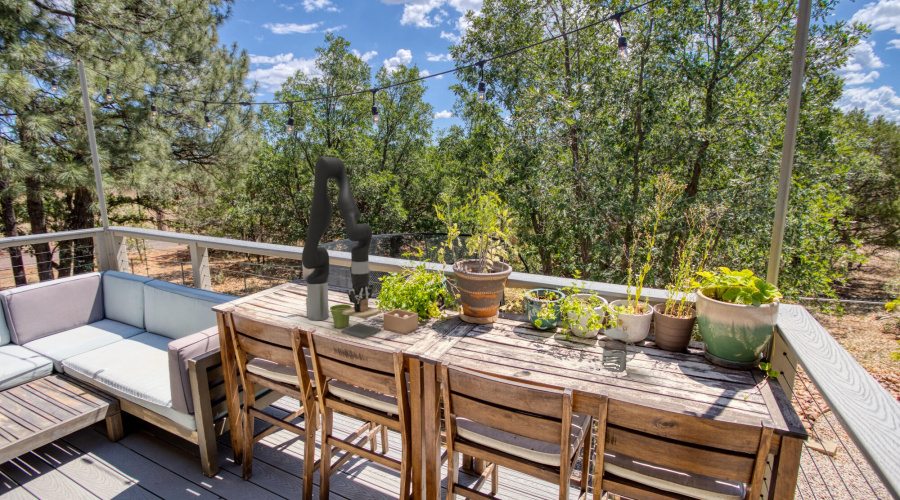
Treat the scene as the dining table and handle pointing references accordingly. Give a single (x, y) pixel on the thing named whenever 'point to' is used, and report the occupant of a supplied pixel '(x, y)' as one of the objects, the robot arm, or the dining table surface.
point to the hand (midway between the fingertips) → (361, 310)
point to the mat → (361, 330)
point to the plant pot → (340, 315)
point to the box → (400, 321)
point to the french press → (616, 348)
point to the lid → (362, 310)
